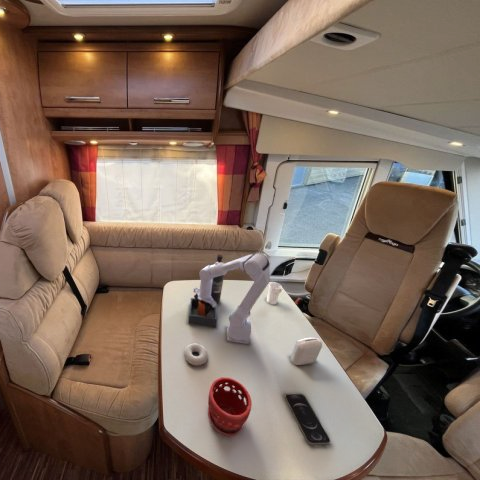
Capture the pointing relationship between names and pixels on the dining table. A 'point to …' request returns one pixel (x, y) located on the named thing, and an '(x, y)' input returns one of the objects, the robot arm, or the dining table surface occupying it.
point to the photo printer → (306, 351)
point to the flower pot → (228, 406)
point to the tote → (202, 320)
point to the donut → (195, 359)
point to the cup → (273, 292)
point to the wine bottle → (217, 284)
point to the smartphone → (307, 419)
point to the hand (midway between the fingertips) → (202, 309)
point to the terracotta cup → (201, 308)
